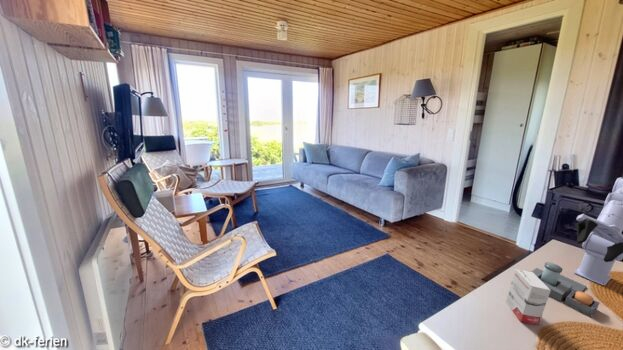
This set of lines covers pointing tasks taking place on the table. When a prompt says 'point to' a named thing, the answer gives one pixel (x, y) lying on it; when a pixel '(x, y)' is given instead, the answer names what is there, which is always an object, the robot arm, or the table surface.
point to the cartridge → (551, 273)
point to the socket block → (560, 288)
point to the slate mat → (576, 285)
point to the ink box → (527, 296)
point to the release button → (584, 298)
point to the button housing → (581, 304)
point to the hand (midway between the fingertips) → (594, 251)
